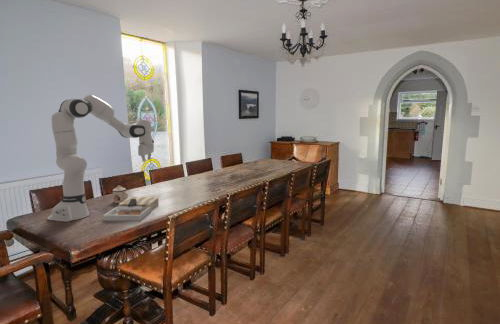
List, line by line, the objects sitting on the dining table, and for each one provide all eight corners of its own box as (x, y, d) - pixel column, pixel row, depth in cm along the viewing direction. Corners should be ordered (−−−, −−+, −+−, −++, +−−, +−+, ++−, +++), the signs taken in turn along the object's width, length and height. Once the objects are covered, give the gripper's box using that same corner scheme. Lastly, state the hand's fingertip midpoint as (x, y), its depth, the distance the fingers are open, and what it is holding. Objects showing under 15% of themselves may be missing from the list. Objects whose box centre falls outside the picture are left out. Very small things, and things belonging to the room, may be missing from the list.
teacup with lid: (110, 202, 211) (109, 186, 209) (120, 199, 220) (119, 183, 218) (122, 204, 207) (121, 188, 205) (132, 200, 215) (131, 185, 213)
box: (103, 220, 174) (103, 215, 174) (117, 211, 191) (117, 206, 190) (140, 221, 173) (139, 215, 173) (150, 212, 190) (150, 206, 189)
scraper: (115, 208, 181) (121, 198, 190) (116, 212, 183) (122, 202, 191) (140, 208, 181) (146, 198, 190) (141, 212, 183) (146, 202, 191)
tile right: (133, 210, 185) (133, 213, 186) (129, 213, 180) (129, 216, 181) (141, 210, 185) (141, 213, 185) (137, 213, 180) (137, 216, 180)
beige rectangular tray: (119, 211, 191) (118, 204, 190) (130, 203, 208) (130, 197, 207) (149, 212, 190) (148, 204, 189) (158, 204, 207) (158, 197, 206)
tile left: (121, 209, 187) (121, 212, 187) (117, 212, 182) (117, 215, 182) (129, 209, 187) (129, 212, 187) (125, 212, 182) (125, 215, 182)
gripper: (144, 143, 203) (145, 162, 205) (154, 140, 223) (155, 158, 225) (135, 142, 203) (136, 162, 205) (146, 140, 223) (147, 158, 226)
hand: (146, 160), depth 216 cm, fingers open, 8 cm apart
